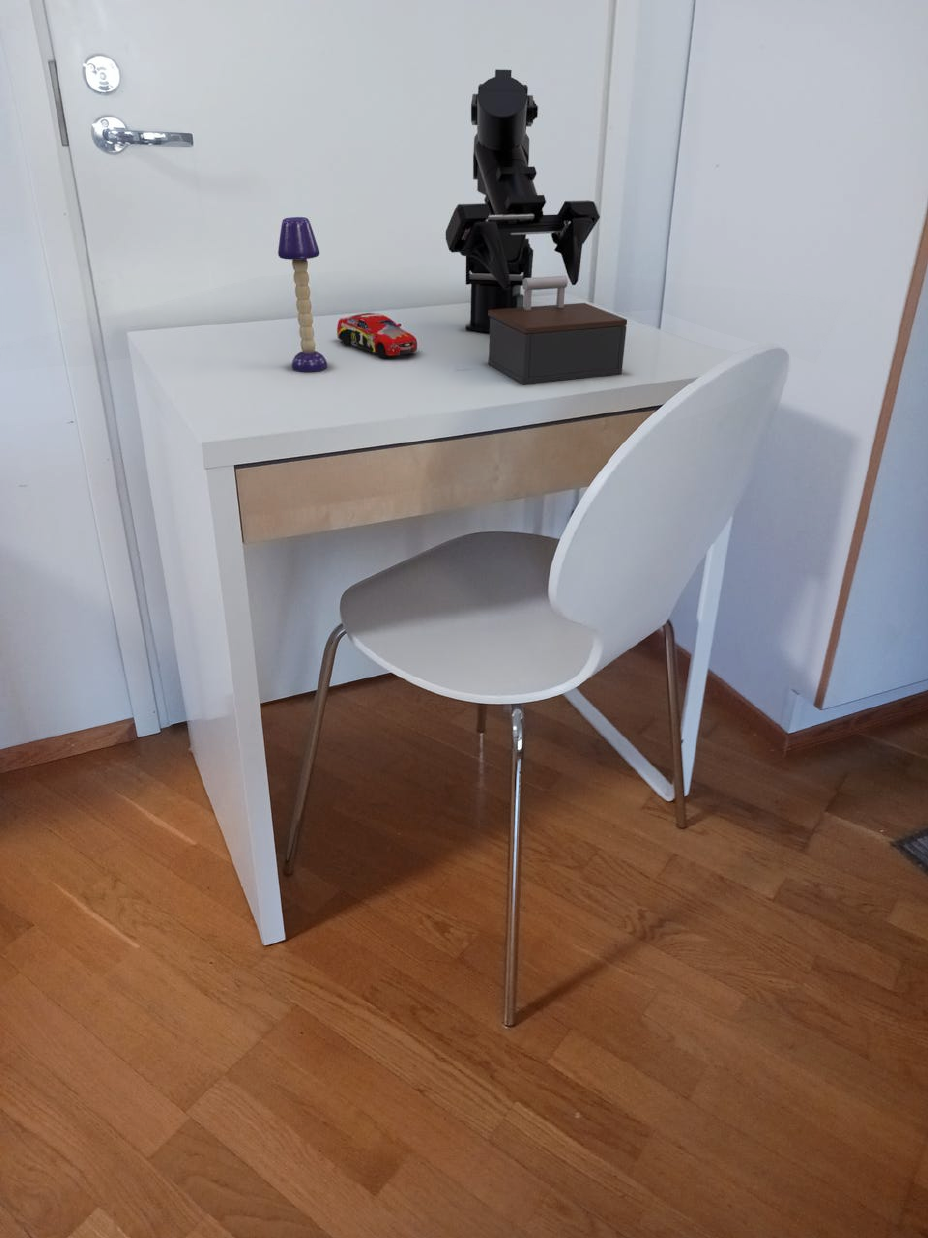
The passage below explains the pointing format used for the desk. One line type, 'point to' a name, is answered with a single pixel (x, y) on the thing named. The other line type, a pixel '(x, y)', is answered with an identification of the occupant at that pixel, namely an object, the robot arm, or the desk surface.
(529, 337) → the dark grey box
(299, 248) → the toy lamp
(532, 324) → the lid
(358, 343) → the race car
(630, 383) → the desk surface
